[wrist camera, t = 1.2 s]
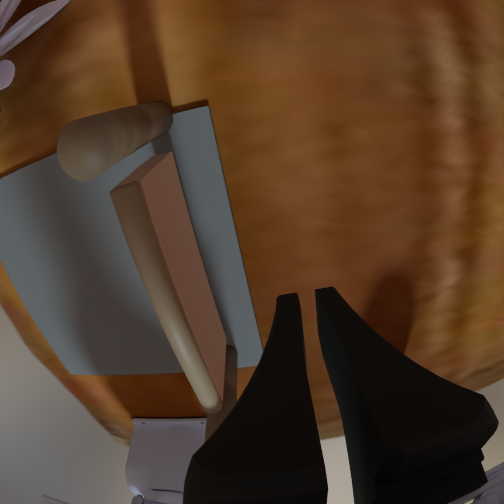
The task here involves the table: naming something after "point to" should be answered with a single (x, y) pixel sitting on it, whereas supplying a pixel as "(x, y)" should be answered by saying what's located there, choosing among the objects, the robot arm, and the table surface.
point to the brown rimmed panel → (173, 272)
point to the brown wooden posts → (110, 153)
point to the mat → (119, 257)
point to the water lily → (21, 31)
